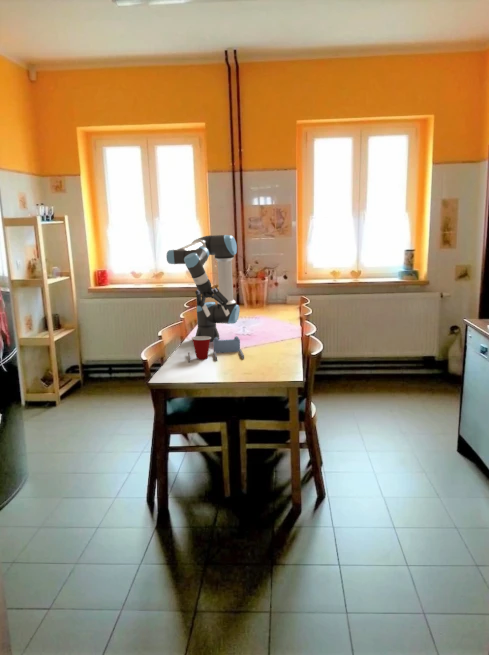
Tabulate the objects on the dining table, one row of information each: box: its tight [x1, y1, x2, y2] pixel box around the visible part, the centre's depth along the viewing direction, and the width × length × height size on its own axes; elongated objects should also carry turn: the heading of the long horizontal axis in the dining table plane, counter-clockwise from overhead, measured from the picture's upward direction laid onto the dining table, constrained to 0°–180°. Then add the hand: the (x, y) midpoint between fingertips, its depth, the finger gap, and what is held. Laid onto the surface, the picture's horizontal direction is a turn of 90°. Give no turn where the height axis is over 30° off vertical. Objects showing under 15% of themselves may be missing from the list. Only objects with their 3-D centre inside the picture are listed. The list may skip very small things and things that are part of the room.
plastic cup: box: [191, 336, 211, 361], centre depth 274 cm, size 11×11×12 cm
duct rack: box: [187, 335, 245, 363], centre depth 277 cm, size 18×30×9 cm, turn 97°
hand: (218, 315), depth 271 cm, fingers open, 13 cm apart
